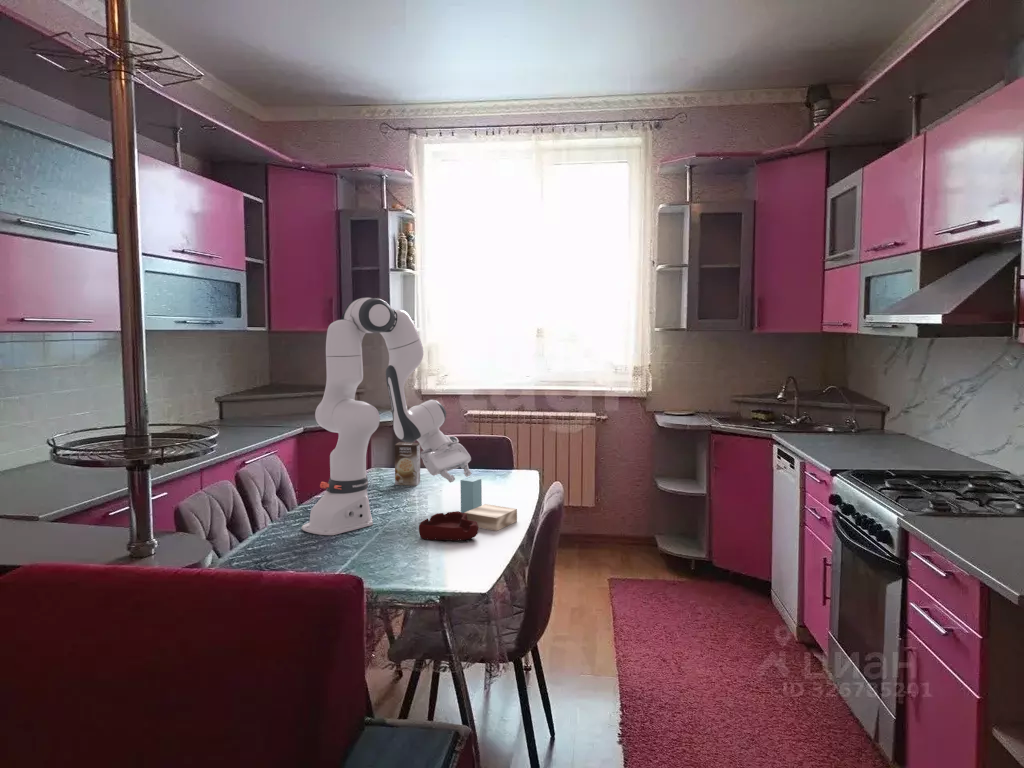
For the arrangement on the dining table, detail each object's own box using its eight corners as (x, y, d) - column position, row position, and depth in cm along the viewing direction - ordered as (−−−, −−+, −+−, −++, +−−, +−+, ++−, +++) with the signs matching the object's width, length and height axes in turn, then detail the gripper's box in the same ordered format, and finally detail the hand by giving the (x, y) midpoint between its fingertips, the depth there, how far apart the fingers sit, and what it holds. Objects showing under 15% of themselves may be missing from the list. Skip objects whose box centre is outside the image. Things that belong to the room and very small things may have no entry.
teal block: (473, 514, 227) (472, 481, 226) (460, 512, 229) (460, 480, 228) (481, 511, 231) (481, 478, 230) (469, 509, 233) (469, 477, 233)
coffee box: (394, 485, 269) (393, 444, 267) (398, 481, 275) (397, 441, 274) (417, 485, 268) (416, 445, 266) (421, 482, 274) (420, 442, 273)
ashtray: (412, 531, 209) (411, 515, 209) (463, 525, 215) (463, 509, 215) (427, 549, 193) (426, 531, 192) (482, 542, 199) (482, 525, 198)
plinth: (496, 531, 208) (496, 518, 208) (464, 525, 214) (463, 512, 214) (516, 521, 218) (516, 508, 218) (485, 516, 225) (485, 504, 224)
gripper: (423, 446, 226) (447, 478, 221) (459, 436, 243) (483, 466, 239) (412, 458, 228) (437, 490, 224) (449, 447, 246) (472, 477, 242)
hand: (461, 478), depth 232 cm, fingers open, 8 cm apart
